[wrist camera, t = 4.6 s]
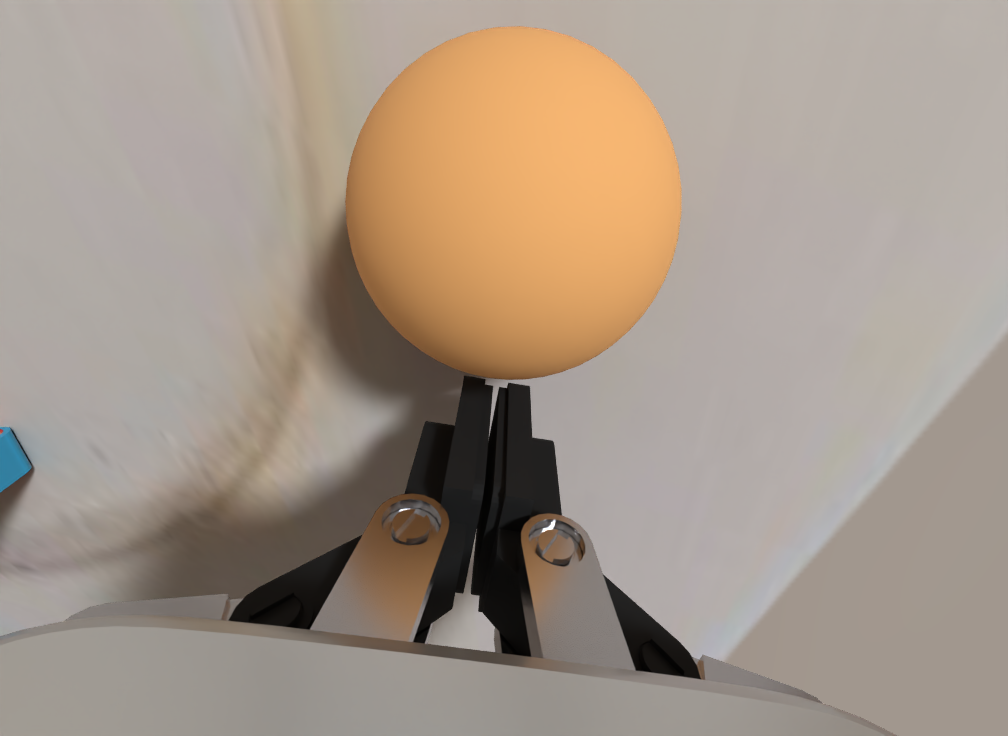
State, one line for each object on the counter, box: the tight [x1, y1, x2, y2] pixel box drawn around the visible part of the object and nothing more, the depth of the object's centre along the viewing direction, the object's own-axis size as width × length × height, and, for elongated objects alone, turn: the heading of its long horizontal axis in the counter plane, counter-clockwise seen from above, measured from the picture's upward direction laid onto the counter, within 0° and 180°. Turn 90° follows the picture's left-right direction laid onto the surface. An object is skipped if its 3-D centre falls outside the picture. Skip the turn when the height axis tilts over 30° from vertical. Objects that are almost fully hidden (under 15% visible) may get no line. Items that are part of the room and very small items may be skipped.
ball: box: [345, 26, 681, 380], centre depth 9 cm, size 6×6×6 cm
